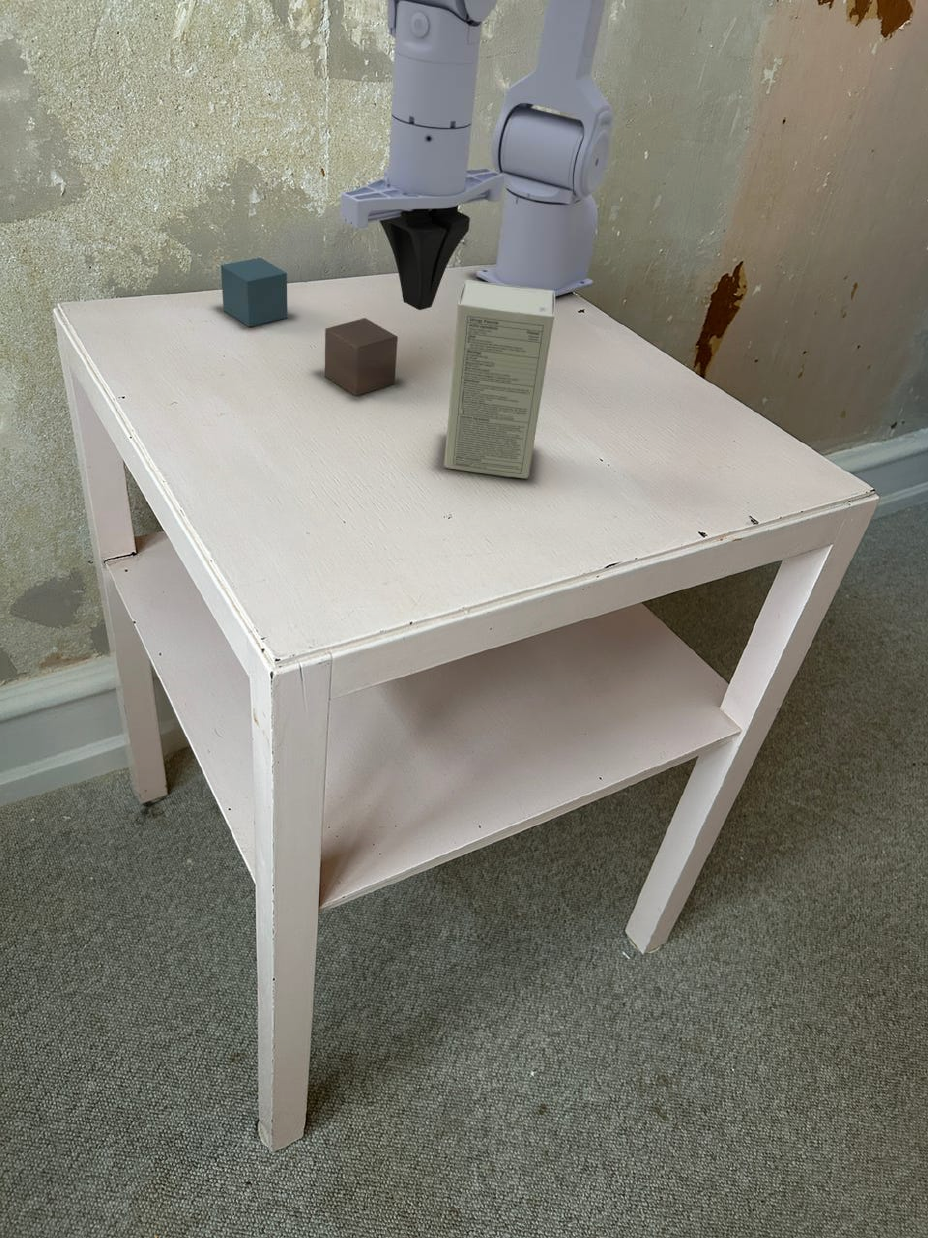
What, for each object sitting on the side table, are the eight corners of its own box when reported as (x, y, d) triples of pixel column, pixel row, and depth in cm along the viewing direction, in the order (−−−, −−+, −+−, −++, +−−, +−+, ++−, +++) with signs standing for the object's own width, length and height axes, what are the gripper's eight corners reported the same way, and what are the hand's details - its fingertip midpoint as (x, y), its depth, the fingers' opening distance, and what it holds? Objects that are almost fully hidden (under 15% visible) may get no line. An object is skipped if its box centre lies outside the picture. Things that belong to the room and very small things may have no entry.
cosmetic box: (530, 450, 70) (559, 289, 62) (528, 482, 67) (558, 316, 59) (446, 438, 70) (464, 276, 62) (439, 469, 67) (457, 301, 59)
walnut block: (363, 364, 78) (365, 317, 75) (394, 383, 76) (398, 336, 73) (324, 376, 75) (324, 328, 73) (355, 396, 73) (357, 347, 71)
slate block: (261, 301, 85) (260, 256, 82) (287, 317, 83) (287, 272, 80) (223, 310, 83) (220, 264, 80) (249, 327, 81) (247, 281, 78)
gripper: (466, 95, 73) (449, 270, 82) (314, 111, 65) (313, 304, 73) (532, 119, 69) (507, 299, 78) (380, 140, 61) (371, 338, 70)
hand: (417, 304), depth 76 cm, fingers closed
